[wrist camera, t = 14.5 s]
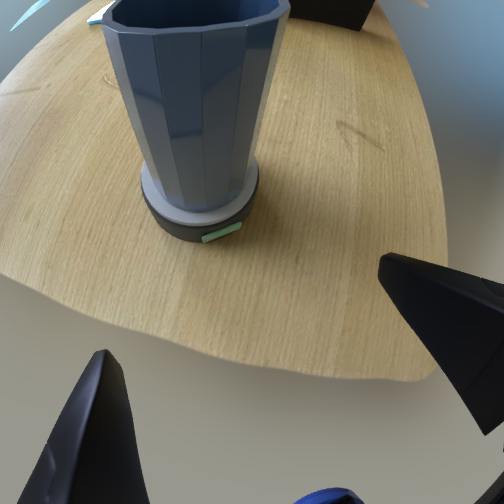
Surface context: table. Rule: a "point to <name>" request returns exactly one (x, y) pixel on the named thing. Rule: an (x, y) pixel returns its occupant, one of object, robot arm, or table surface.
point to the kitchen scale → (200, 223)
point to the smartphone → (97, 16)
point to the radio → (333, 11)
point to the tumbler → (196, 89)
